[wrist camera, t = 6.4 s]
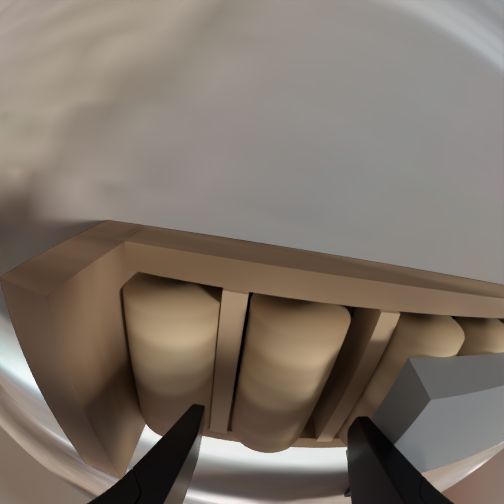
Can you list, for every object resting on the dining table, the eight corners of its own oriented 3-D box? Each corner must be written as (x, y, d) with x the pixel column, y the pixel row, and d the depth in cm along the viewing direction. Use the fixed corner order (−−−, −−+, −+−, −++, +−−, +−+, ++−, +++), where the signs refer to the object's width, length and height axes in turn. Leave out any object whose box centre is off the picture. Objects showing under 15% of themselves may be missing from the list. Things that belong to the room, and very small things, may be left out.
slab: (498, 418, 9) (509, 438, 7) (346, 451, 9) (351, 485, 8) (548, 344, 7) (565, 363, 5) (408, 357, 7) (430, 400, 6)
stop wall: (157, 396, 14) (122, 479, 8) (126, 387, 14) (85, 463, 8) (149, 226, 10) (45, 296, 5) (107, 220, 10) (-1, 277, 5)
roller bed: (460, 407, 13) (476, 439, 10) (149, 394, 14) (128, 439, 10) (527, 289, 10) (560, 315, 7) (138, 224, 10) (88, 254, 7)
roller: (308, 410, 13) (289, 461, 9) (247, 390, 14) (218, 436, 10) (352, 299, 10) (346, 351, 7) (269, 276, 11) (232, 315, 8)
